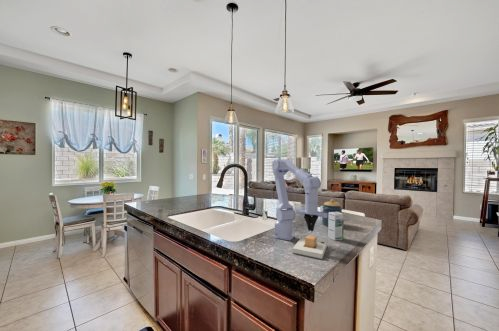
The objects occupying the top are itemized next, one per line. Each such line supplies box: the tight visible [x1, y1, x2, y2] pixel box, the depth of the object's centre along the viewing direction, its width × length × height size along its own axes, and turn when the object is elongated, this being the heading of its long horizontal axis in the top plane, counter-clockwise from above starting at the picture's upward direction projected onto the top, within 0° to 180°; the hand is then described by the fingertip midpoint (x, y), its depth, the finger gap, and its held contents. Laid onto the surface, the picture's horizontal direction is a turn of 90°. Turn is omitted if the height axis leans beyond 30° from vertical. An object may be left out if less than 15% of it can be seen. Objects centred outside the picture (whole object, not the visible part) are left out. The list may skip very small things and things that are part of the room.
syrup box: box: [327, 212, 345, 241], centre depth 118 cm, size 6×6×14 cm
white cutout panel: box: [292, 237, 328, 260], centre depth 102 cm, size 13×16×3 cm
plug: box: [304, 234, 318, 249], centre depth 102 cm, size 4×6×6 cm
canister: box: [321, 198, 343, 227], centre depth 145 cm, size 13×13×18 cm
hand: (310, 230), depth 102 cm, fingers closed
